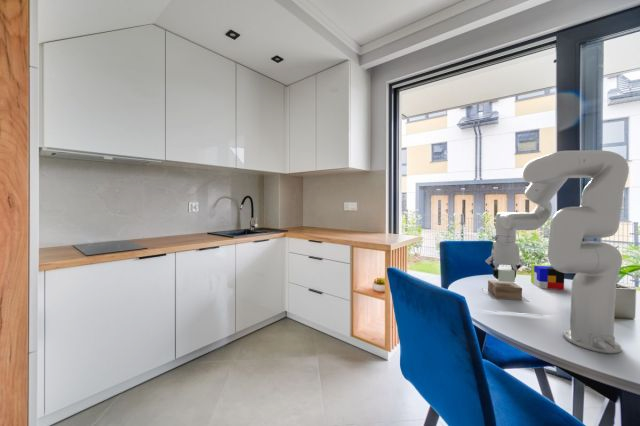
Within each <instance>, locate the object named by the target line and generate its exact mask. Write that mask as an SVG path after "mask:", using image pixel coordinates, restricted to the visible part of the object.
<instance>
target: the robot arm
mask: <svg viewBox="0 0 640 426" xmlns="http://www.w3.org/2000/svg"><path fill="white" fill-rule="evenodd" d="M629 174H630V167H629V163H628V162H627V160H626V159H625V158H624V156H622V155H621V154H619V153H616V152H613V151H610V150H601V149H600V150H599V149H597V150H596V149H594V150H593V149H590V150H588V149H586V150H585V149H584V150H560V151H555V152H552V153H549V154H546V155H542V156H540V157H537V158H534V159H532V160H529V161H528V162H527V163H526V164H524V166H523V168H522V171H521V177H522V179H523V181H524V182H526V183H528V184H529V185H528V187H527V188H526V189H525V191H524V196H525V198H527V199H528V200H529V201H530V202H532V203H534V204H536V205H537V206H535V208H534V210H532V211H531V212H528V211H527V212H525V211H524V212H512V211H500V212H497V213H496V215H495V234H494V236H492V237H491V239H492V240H494V241H493V242H492V243H493V244H492V248H491V254H490V256H489V257H488V258H487V259H485V260H484V261H485V263H487V264H488V265H489V266H490V267H491V268H492V276H493V277H494V279H495V280H497V279H498V270H497V268H498V267H500V265H501V266H510V268H511V269H513V270H514V271H515V279H516V278H517V271H518V270H519V269H521V267H523V266H524V265H526V262H525V261H524V260H522V258H521V255H520V248H519V243H518V242H516V241H517V239H516V238H517V237H516V236H517V235H516V234H517V231H534V230H535V231H536V230H538V229H540V228H541V227H542V226H544V225H545V224H546V222H547V221H548V220H549V219H550V218H551V215H552V209H553V207H552V202H551V200H552V199H553V197H554V196H555V195H556V194H557V193H558V192H559V190H560V189H561V188H562V187H563V185H564V184H565V183H566V182H567V181H568V179H580V178H582V179H584V178H587V179H588V178H589V179H591V180H589V182H588V183H587V184H586V185H585V186H584V188H583V190H582V193H581V199H580V204H579V206H567V207H563V208H560V209H559V210H558V211H556V212H555V214H554V215H553V217H552V219H551V220H550V226H549V236H548V245H547V259H548V263H549V265H551V266H552V267H553V268H554V269H555V270H557V271H559V272H563V273H564V274H575V275H574V276H573V278H572V281H571V287H570V288H571V291H570V317H569V318H570V319H569V321H570V322H569V329H566V330H564V331H563V334H562V335H563V337H564V338H565V340H566V341H568V342H570V343H571V344H573V345H576V346H578V347H580V348H583V349H586V350H589V351H593V352H598V353H603V354H618V353H620V352H621V350H622V346H621V344H619V343H618V342H617V341H616V337H615V336H614V332H615V331H614V330H615V312H616V311H615V309H616V293H617V282H618V277H619V274H620V271H621V269H622V265H623V256H622V253H621V252H620V250H619V249H617V248H616V247H615V246H614V245H612V244H610V243H607V242H604V241H602V242H601V241H583V239H602V238H604V239H605V238H610V237H612V236H615V235H616V233H618V230H619V227H620V224H621V223H620V222H621V213H622V206H623V197H624V190H625V188H626V185H627V184H626V183H627V181H628V177H629Z"/></svg>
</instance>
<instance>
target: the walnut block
mask: <svg viewBox="0 0 640 426" xmlns="http://www.w3.org/2000/svg"><path fill="white" fill-rule="evenodd" d="M487 289H488V291H489V292H490V293H491V294H492V295H494V296H495V297H496V298H508V299H521V300H522V297H523V288H522V287H521V286H520V285H518V284H517V283H515V282H507V281H499V280H496V279H495V280H492V279H488V280H487Z"/></svg>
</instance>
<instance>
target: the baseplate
mask: <svg viewBox="0 0 640 426" xmlns="http://www.w3.org/2000/svg"><path fill="white" fill-rule="evenodd" d="M482 291H483V292H485V293H486V294H487V295H488V296H489V297H490V299H492V300H504V301H515V302H525V303H527V302H530V301H529V300H528V299H527V298H525V297H524V296H522V300H521V299H508V298H496V297H495V296H494V295H492V294H491V293H490V292H489V291H488V288H482Z"/></svg>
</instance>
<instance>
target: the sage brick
mask: <svg viewBox="0 0 640 426" xmlns="http://www.w3.org/2000/svg"><path fill="white" fill-rule="evenodd" d="M497 270H498V279H496V281H507V282H514V283H515V281H516V278H515V271H514V270H513V269H512V268H511V267H506V266H505V267H504V266H498V268H497Z"/></svg>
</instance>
